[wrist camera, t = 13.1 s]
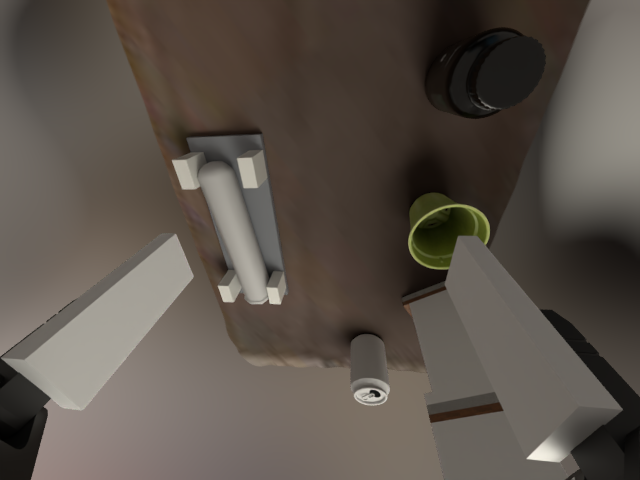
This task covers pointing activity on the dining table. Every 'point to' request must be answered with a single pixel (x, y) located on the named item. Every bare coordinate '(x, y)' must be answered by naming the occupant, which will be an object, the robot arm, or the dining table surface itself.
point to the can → (369, 370)
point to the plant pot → (442, 228)
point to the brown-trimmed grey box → (466, 400)
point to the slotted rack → (257, 194)
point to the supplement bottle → (485, 73)
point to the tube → (235, 228)
